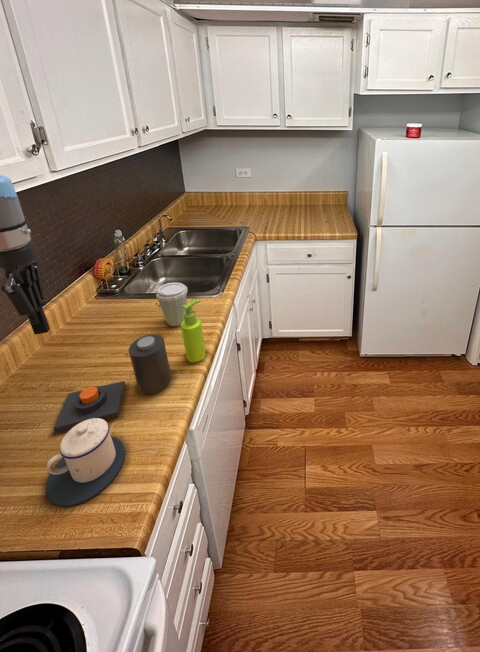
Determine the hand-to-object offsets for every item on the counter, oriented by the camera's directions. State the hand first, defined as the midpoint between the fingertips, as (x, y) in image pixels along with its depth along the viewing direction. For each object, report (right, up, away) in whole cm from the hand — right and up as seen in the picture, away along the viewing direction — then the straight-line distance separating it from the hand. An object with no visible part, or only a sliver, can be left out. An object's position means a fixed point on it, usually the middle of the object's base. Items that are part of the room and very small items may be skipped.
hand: (42, 331), depth 82 cm
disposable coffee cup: (+16, -9, +43) cm, 47 cm away
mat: (+16, -29, -7) cm, 34 cm away
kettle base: (+8, -23, +8) cm, 26 cm away
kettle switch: (+8, -20, +6) cm, 22 cm away
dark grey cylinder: (+20, -20, +16) cm, 33 cm away
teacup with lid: (+16, -29, -7) cm, 34 cm away
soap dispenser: (+29, -16, +27) cm, 43 cm away
